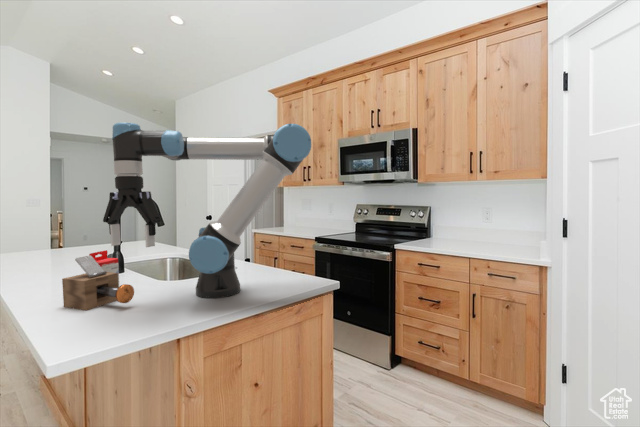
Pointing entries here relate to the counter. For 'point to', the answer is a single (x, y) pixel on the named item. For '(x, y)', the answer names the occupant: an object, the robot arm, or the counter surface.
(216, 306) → the counter surface
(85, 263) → the plate
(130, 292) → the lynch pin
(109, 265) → the ink box
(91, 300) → the block
